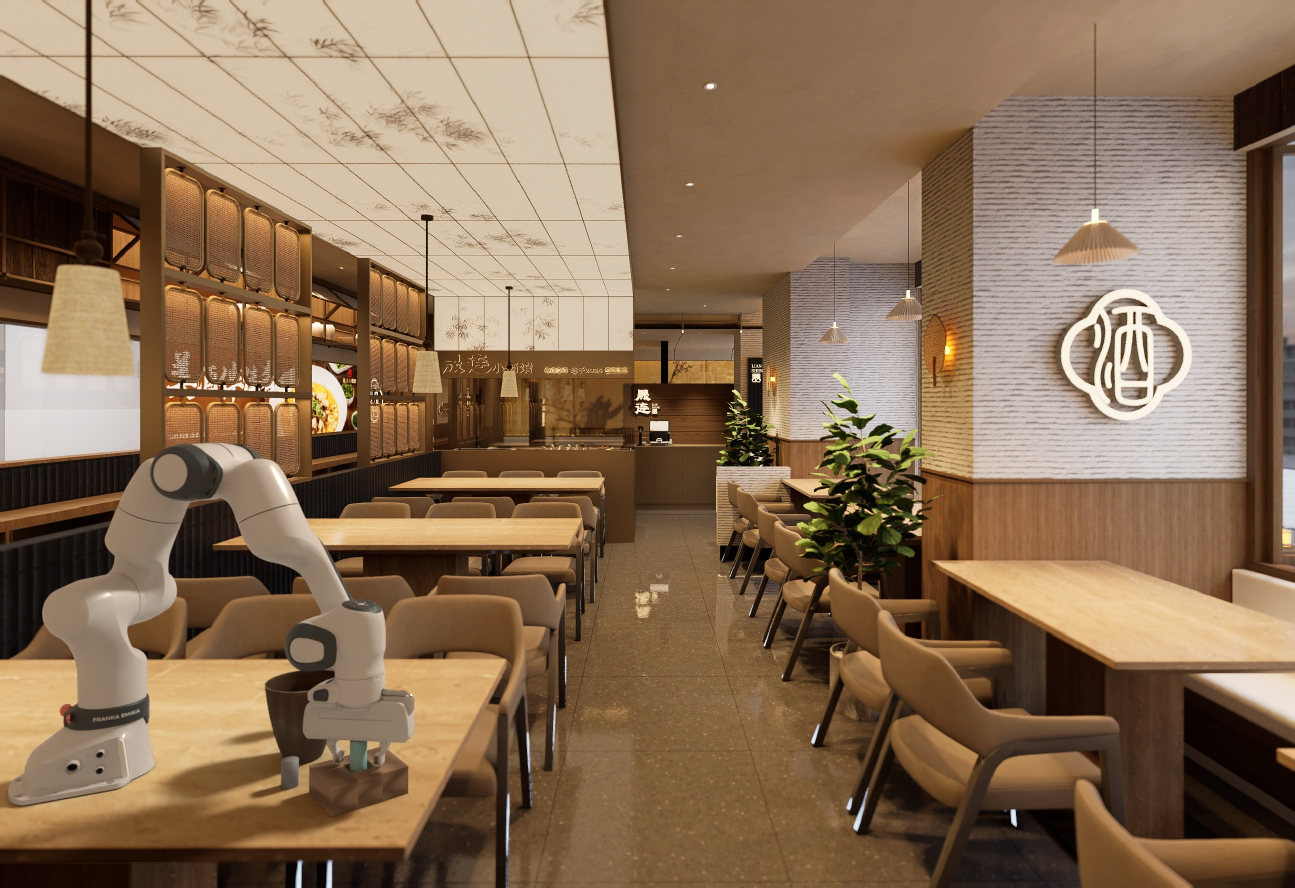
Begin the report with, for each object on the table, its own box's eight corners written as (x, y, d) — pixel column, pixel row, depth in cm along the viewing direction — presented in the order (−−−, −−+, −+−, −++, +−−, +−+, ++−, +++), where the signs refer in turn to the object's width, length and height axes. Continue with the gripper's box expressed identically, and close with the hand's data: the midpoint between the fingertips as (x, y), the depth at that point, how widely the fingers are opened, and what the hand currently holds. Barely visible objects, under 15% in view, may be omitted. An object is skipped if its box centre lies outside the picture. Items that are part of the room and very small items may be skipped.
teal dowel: (352, 798, 135) (353, 743, 135) (346, 792, 137) (347, 738, 137) (368, 793, 137) (369, 739, 137) (363, 787, 139) (363, 734, 139)
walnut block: (330, 817, 128) (330, 788, 128) (309, 792, 137) (309, 765, 137) (408, 793, 137) (408, 766, 137) (383, 771, 146) (383, 745, 146)
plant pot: (354, 742, 160) (355, 669, 160) (324, 773, 145) (325, 692, 145) (285, 741, 160) (286, 668, 160) (248, 772, 145) (249, 691, 145)
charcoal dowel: (283, 791, 137) (283, 764, 137) (278, 785, 140) (279, 759, 140) (300, 786, 139) (300, 760, 139) (295, 780, 142) (296, 754, 142)
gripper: (420, 685, 140) (419, 757, 139) (316, 681, 141) (315, 753, 141) (407, 696, 133) (406, 772, 133) (298, 692, 135) (297, 767, 135)
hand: (358, 762), depth 137 cm, fingers open, 6 cm apart
